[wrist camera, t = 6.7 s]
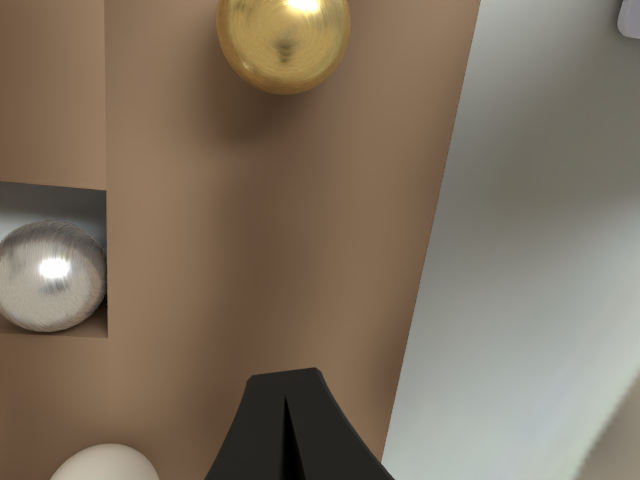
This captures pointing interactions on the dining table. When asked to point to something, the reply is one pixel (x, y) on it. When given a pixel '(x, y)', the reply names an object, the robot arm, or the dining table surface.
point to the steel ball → (51, 276)
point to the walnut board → (221, 219)
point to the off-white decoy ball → (106, 464)
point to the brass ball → (283, 41)
